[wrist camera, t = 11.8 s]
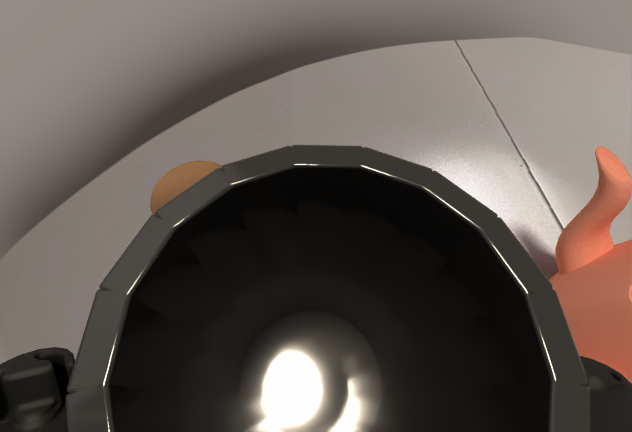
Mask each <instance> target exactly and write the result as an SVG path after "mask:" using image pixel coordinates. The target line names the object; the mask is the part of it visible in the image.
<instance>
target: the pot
mask: <svg viewBox="0 0 632 432" xmlns="http://www.w3.org/2000/svg"><path fill="white" fill-rule="evenodd" d="M595 154H596V160H597V164H598V170H599V182H598V188H597V190H596V192H595V194H594V196H593V198H592V199H591V200H590V201H589V203H588V204H587V205H586V206H585V207H584V208H583V209H582V210H581V212H580V213H579V214H578V215H577V216H576V217H575V218H574V219H573V220H572V221H571V222H570V223H569V224H568V225H567V226H566V228H565V229H564V230H563V232H562V233H561V235H560V237H559V239H558V242H557V245H556V263H557V267H558V273H556V274H555V275H554V276H553V277H551V278H550V279H549V281H550V282H551V283H552V285H553V288H552V289H554V290H555V291H556V292H557V295H558V298H559V301H560V303H561V306H562V309H563V312H564V314H565V317H566V320H567V323H568V326H569V328H570V331H571V334H572V337H573V339H574V342H575V345H576V348H577V350H578V353H579V356H583V357H587V358H591V359H593V360H596V361H598V362H601V363H603V364H606V365H608V366H609V367H611V368H613V369H614V370H616V371H617V372H619V373H621V374H622V375H623V376H624V377H625V378H626V379H627V380H628V381H629V382H631V383H632V240H629V241H626V242H623V243H620V244H617V245H615V246H614V244H613V242H612V239H611V235H610V226H611V223H612V221H613V220H614V218H615V217H616V216H617V215H618V214H619V213H620V212H621V211H622V210H623V209H624V207H625V206H626V204H627V203H628V201H629V199H630V196H631V192H632V182H631V178H630V175H629V173H628V171H627V169H626V168H625V166H624V165H623V163H622V162H621V161H620V160H619V159H618V158H617V156H616V155H614V154H613V153H612V152H611V151H610V150H608V149H607V148H605V147H601V146H600V147H597V148H596V152H595Z"/></svg>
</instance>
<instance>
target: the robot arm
mask: <svg viewBox="0 0 632 432" xmlns="http://www.w3.org/2000/svg"><path fill="white" fill-rule="evenodd" d="M580 359H581V362H582V364H583V367H584V370H585V373H586V375H587V378H588V381H589V385H588V386H587V387H588V388H589V389H590V391H591V432H632V383H631V382H629V381H628V380H627V379H626V378H625V377H624V376H623V375H622V374H621V373H619V372H617V371H616V370H614V369H613V368H611V367H609V366H608V365H606V364H603V363H601V362H598V361H596V360H593V359H591V358H587V357H583V356H580ZM74 364H75V360H74V356H73V353H71V352H70V351H69V350H67V349H64V348H56V347H53V348H45V349H38V350H35V351H32V352H28V353H25V354H22V355H19V356H17V357H15V358H13V359H10V360H8V361H6V362H4V363H2V364H1V365H0V432H68V425H67V412H66V396H67V395H68V394H69V393H68V392H67V387H68V383H69V380H70V377H71V374H72V370H73V367H74Z"/></svg>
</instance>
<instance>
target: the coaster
mask: <svg viewBox="0 0 632 432" xmlns="http://www.w3.org/2000/svg"><path fill="white" fill-rule="evenodd" d="M221 167H222V166H221V165H219V164H216V163H212V162H206V161H196V162H189V163H186V164H182V165H180V166H177V167H176V168H174V169H172V170H170V171H169V172H168V173H166V174H165V175H164V176H163V177H162V178H161V179H160V180H159V182H158V183H157V184H156V186H155V188H154V190H153V192H152V196H151V210H152V213H153V215H155V212H156V210H158V209H159V208H161V207H162V206H164V205H165V204H167V203H168V202H169V201H171V200H172V199H174V198H175V197H177V196H178V195H179V194H181V193H182V192H184V191H185V190H187V189H188V188H189V187H191V186H192V185H194V184H195V183H197V182H198V181H200V180H201V179H202V178H204V177H205V176H207V175H208V174H210V173H211V172H212V171H214V170H215V169H217V168H221Z"/></svg>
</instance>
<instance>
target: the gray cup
mask: <svg viewBox="0 0 632 432" xmlns="http://www.w3.org/2000/svg"><path fill="white" fill-rule="evenodd" d="M497 216H498V215H497V214H496V213H495V212H493V211H492V210H490V209H489V208H487V207H486V206H485V205H483V204H482V203H480V202H479V201H478V200H476V199H475V198H473V197H472V196H471V195H469V194H468V193H466V192H465V191H463V190H462V189H461V188H459V187H458V186H456V185H455V184H454V183H452V182H451V181H449V180H448V179H446V178H445V177H444V176H442V175H441V174H439V173H438V172H437V171H433V172H432V169H431V168H428V167H425V166H422V165H419V164H416V163H413V162H410V161H407V160H403V159H400V158H397V157H394V156H391V155H388V154H385V153H382V152H379V151H376V150H373V149H370V148H367V147H364V148H363V147H362V146H330V145H292V147H291V146H286V147H283V148H279V149H276V150H273V151H269V152H266V153H263V154H259V155H256V156H253V157H249V158H246V159H243V160H239V161H236V162H233V163H229V164H226V165H223V166H222V167H221V168H217V169H215V170H214V171H212V172H211V173H210V174H208V175H207V176H205V177H204V178H202V179H201V180H200V181H198V182H197V183H195V184H194V185H192V186H191V187H189V188H188V189H187V190H185V191H184V192H182V193H181V194H179V195H178V196H177V197H175V198H174V199H172V200H171V201H169V202H168V203H167V204H165V205H164V206H162V207H161V208H159V209H158V210H156V212H155V215H151V216H150V218H149V219H148V220H147V222H146V223H145V224H144V226H143V227H142V229H141V230H140V231H139V233H138V234H137V235H136V237H135V238H134V239H133V241H132V242H131V243H130V245H129V246H128V247H127V249H126V250H125V252H124V253H123V254H122V256H121V257H120V258H119V260H118V261H117V262H116V264H115V265H114V266H113V268H112V269H111V270H110V272H109V273H108V275H107V276H106V277H105V279H104V280H103V281H102V283H101V284H100V289H99V290H97V292H96V295H95V298H94V301H93V304H92V308H91V311H90V314H89V318H88V321H87V324H86V328H85V331H84V334H83V337H82V341H81V344H80V347H79V351H78V354H77V357H76V360H75V364H74V367H73V370H72V374H71V377H70V380H69V383H68V387H67V392H68V393H69V394H68V395H67V396H66V412H67V425H68V432H591V391H590V389H589V388H588V387H587V386H588V385H589V381H588V378H587V375H586V373H585V370H584V367H583V364H582V362H581V359H580V356H579V353H578V350H577V348H576V345H575V342H574V339H573V337H572V334H571V331H570V328H569V326H568V323H567V320H566V317H565V314H564V312H563V309H562V306H561V303H560V301H559V298H558V295H557V292H556V291H555V290H554V289H552V288H553V285H552V283H551V282H550V281H549V280H548V278H547V277H546V276H545V274H544V273H543V272H542V270H541V269H540V268H539V267H538V265H537V264H536V263H535V261H534V260H533V259H532V258H531V256H530V255H529V254H528V252H527V251H526V250H525V248H524V247H523V246H522V245H521V243H520V242H519V241H518V239H517V238H516V237H515V235H514V234H513V233H512V232H511V230H510V229H509V228H508V226H507V225H506V224H505V223H504V221H503V220H502V219H501V218H500V217H498V218H497Z"/></svg>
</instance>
